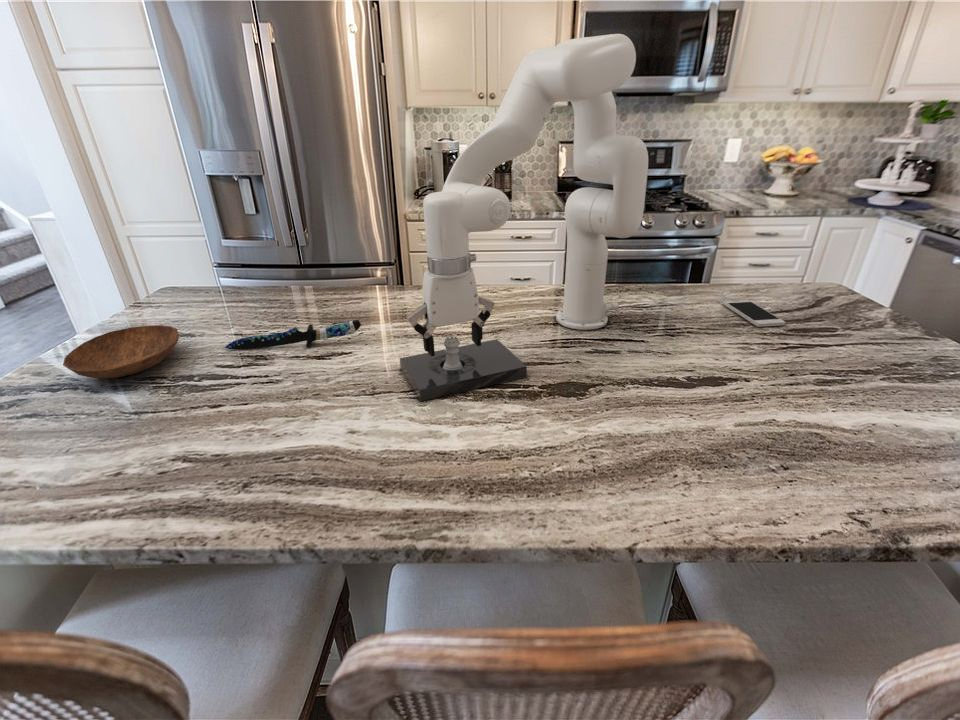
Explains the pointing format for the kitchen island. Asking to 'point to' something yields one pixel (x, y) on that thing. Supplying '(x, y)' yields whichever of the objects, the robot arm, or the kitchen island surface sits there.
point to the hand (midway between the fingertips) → (454, 348)
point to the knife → (295, 336)
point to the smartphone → (754, 313)
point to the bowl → (122, 351)
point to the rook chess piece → (452, 354)
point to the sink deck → (462, 370)
